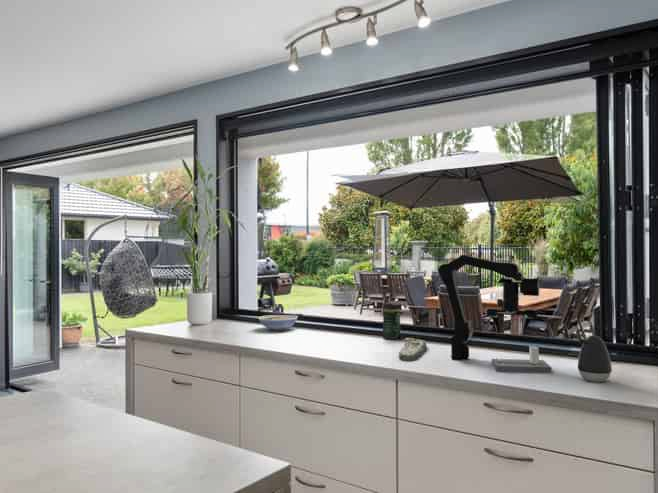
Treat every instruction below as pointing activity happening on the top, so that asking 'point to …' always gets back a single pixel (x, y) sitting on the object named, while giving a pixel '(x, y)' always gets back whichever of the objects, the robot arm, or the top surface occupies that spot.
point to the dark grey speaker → (594, 360)
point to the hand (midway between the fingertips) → (510, 334)
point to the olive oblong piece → (412, 349)
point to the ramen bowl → (278, 321)
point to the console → (520, 366)
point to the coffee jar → (391, 320)
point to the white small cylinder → (534, 354)
